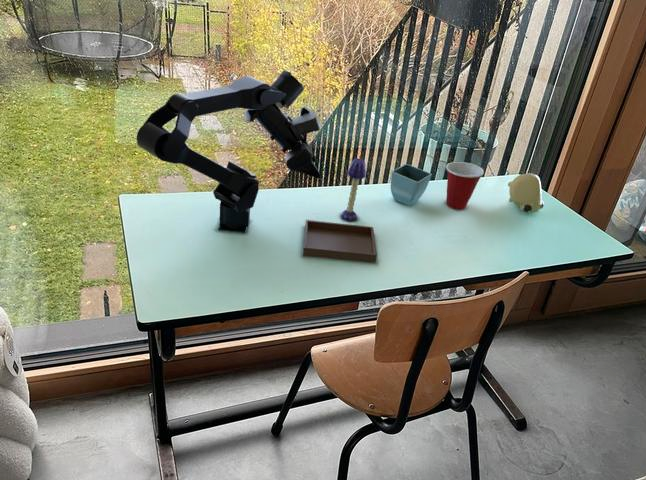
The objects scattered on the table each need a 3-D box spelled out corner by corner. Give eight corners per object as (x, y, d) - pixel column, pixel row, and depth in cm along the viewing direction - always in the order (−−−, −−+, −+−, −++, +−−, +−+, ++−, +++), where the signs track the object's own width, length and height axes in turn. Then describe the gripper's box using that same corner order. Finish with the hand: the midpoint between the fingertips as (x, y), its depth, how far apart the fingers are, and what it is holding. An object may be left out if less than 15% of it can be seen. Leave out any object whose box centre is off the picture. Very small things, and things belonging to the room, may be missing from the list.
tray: (302, 255, 132) (303, 247, 131) (304, 227, 143) (305, 219, 142) (375, 263, 135) (376, 255, 133) (371, 234, 145) (373, 226, 144)
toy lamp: (361, 217, 152) (371, 160, 143) (353, 224, 148) (363, 165, 139) (345, 211, 153) (354, 154, 144) (337, 218, 150) (345, 159, 140)
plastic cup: (448, 192, 173) (457, 156, 167) (479, 206, 169) (490, 169, 162) (430, 203, 166) (439, 165, 159) (462, 217, 161) (473, 179, 154)
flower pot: (425, 201, 166) (432, 173, 161) (411, 211, 160) (418, 182, 155) (400, 190, 169) (406, 163, 164) (385, 200, 163) (390, 171, 158)
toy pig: (507, 218, 173) (531, 211, 163) (498, 180, 173) (522, 170, 164) (531, 214, 177) (556, 206, 168) (523, 177, 178) (547, 167, 168)
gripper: (306, 115, 123) (349, 165, 131) (298, 87, 138) (337, 134, 146) (267, 146, 125) (312, 194, 134) (263, 116, 140) (304, 160, 149)
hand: (317, 169), depth 141 cm, fingers open, 9 cm apart
